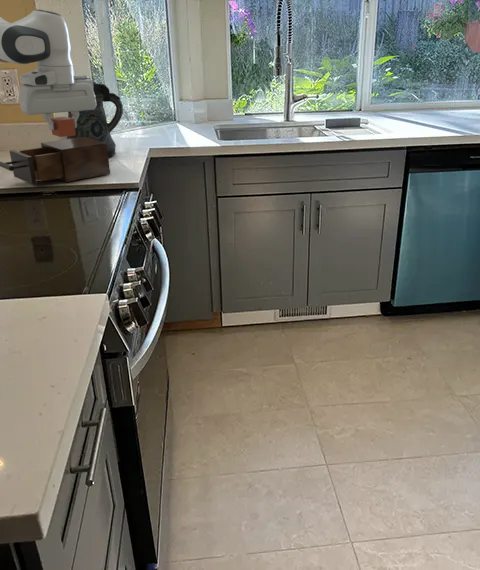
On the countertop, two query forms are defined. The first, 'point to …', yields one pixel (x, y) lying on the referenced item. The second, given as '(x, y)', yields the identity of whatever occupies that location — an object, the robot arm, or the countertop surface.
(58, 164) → the drawer
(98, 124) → the dark grey pitcher
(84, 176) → the cabinet
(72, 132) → the block
